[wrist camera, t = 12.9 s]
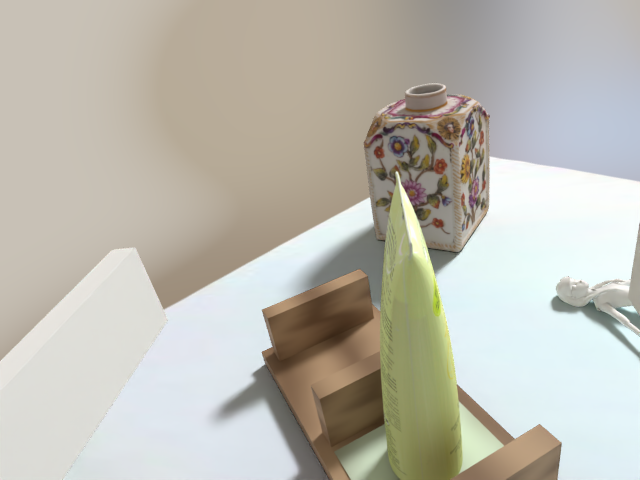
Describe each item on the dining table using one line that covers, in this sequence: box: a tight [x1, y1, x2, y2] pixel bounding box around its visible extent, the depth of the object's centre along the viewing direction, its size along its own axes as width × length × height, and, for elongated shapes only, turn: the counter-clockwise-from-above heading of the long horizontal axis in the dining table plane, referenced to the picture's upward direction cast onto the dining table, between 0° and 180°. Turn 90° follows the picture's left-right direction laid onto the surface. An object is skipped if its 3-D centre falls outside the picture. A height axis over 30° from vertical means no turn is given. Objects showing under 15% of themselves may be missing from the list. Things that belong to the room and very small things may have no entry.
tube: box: [380, 171, 463, 480], centre depth 27 cm, size 6×5×20 cm
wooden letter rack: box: [262, 269, 562, 480], centre depth 35 cm, size 12×24×6 cm, turn 25°
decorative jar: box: [364, 83, 490, 252], centre depth 58 cm, size 12×12×18 cm
